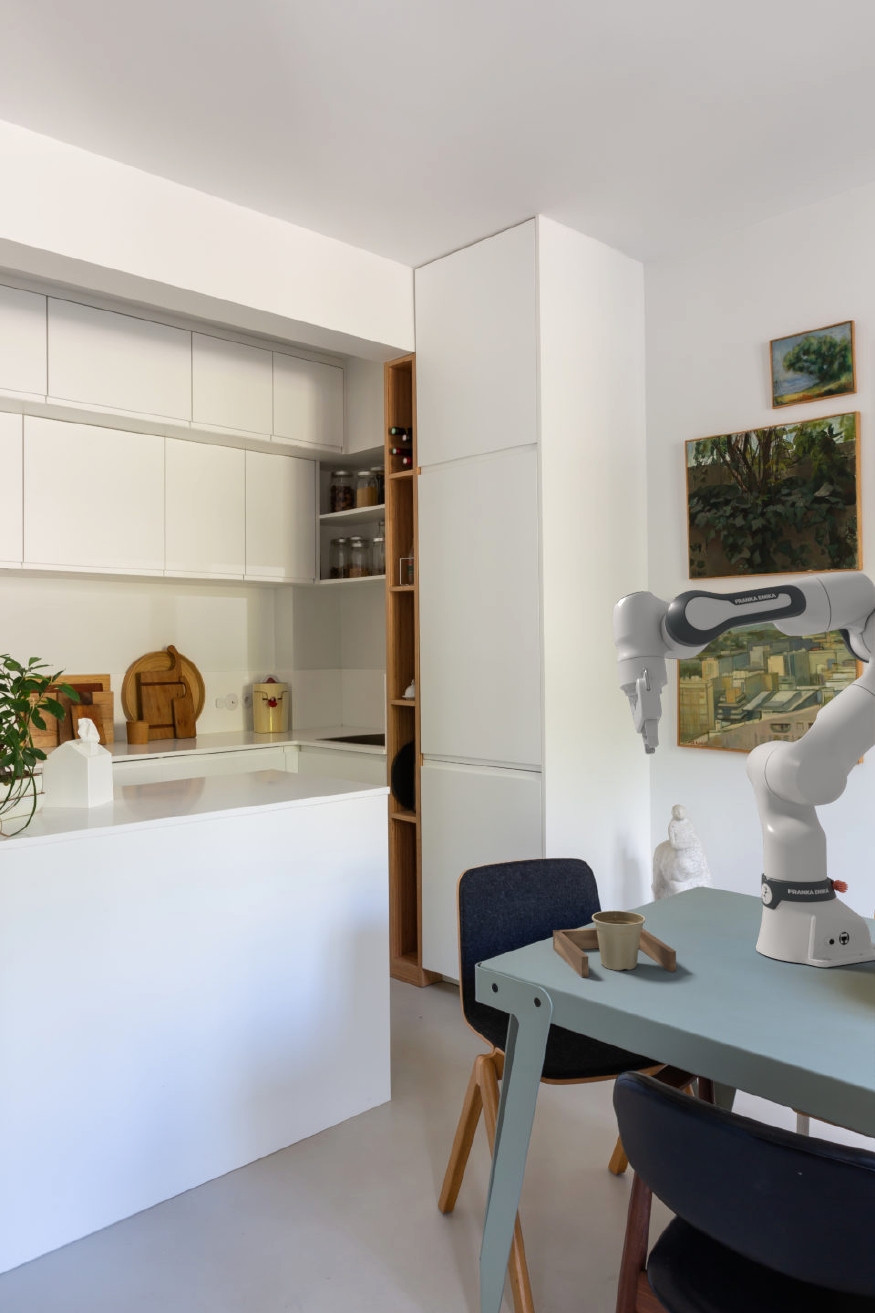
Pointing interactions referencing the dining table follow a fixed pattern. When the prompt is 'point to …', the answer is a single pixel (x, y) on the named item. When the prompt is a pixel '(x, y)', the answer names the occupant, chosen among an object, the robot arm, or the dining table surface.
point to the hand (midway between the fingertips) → (652, 750)
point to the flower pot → (618, 938)
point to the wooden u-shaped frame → (577, 939)
